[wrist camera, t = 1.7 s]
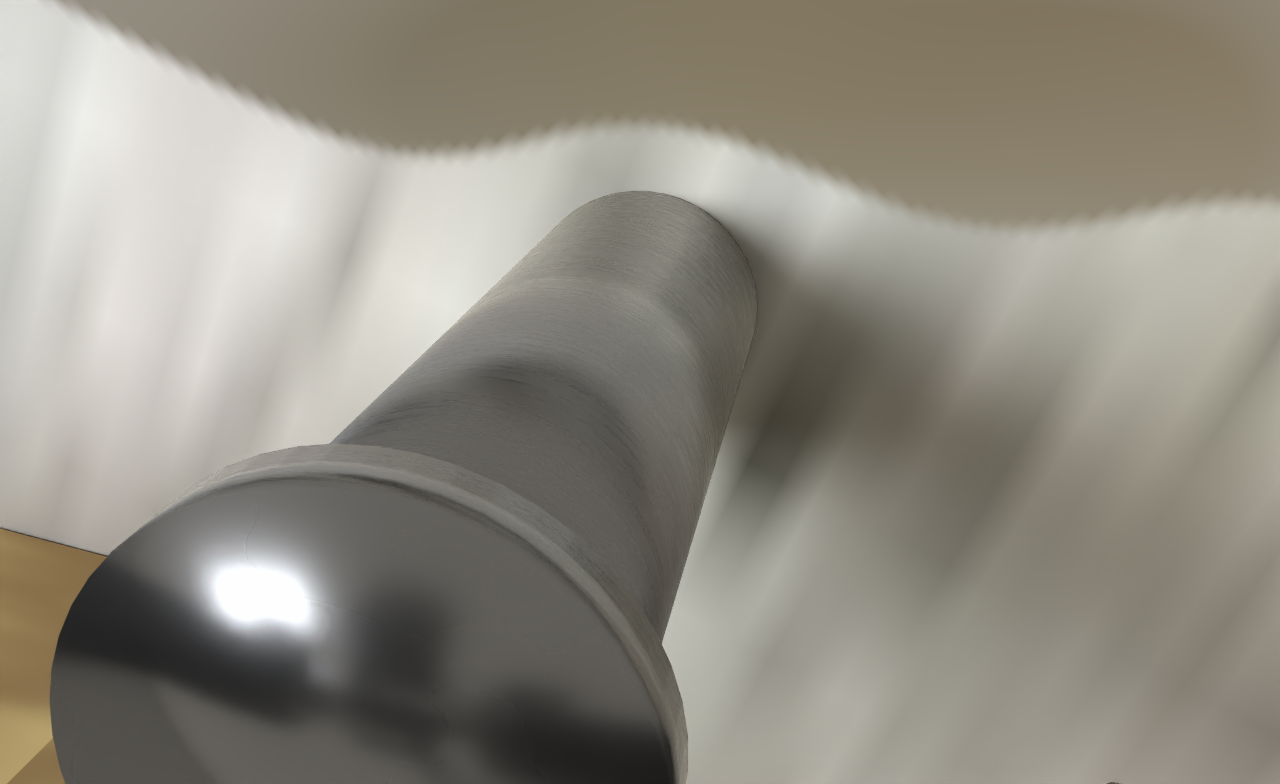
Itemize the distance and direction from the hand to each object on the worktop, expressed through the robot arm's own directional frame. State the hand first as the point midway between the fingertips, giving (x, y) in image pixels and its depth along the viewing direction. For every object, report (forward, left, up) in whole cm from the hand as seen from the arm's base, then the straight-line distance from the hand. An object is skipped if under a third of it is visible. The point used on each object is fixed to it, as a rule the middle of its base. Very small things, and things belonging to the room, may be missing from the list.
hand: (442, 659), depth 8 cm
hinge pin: (0, 0, -8) cm, 8 cm away
